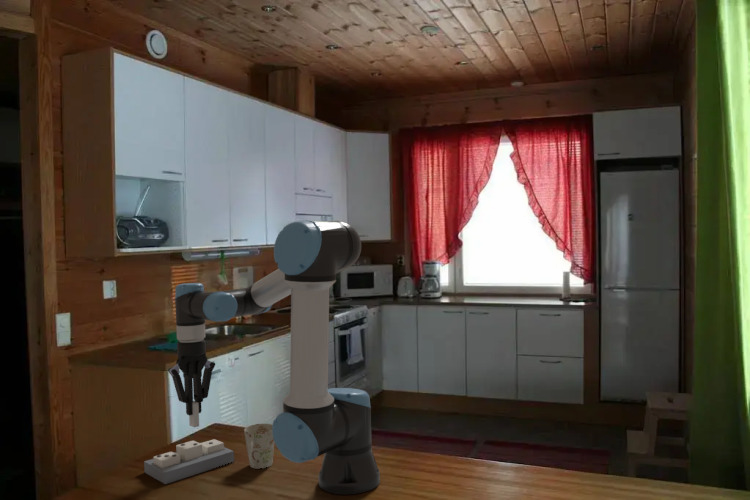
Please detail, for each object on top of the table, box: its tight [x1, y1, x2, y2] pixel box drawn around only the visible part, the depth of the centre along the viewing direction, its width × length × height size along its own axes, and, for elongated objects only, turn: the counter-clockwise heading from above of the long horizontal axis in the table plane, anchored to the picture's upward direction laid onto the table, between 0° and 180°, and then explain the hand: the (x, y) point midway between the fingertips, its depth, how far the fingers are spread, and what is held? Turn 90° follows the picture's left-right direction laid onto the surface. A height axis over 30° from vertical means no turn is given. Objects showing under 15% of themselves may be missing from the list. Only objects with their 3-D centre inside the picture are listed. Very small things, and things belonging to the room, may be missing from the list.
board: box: [143, 446, 235, 485], centre depth 165 cm, size 12×20×3 cm, turn 135°
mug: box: [243, 423, 275, 470], centre depth 163 cm, size 8×13×10 cm, turn 174°
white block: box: [199, 438, 225, 455], centre depth 170 cm, size 5×5×4 cm
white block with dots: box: [152, 451, 180, 469], centre depth 161 cm, size 5×5×4 cm
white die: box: [175, 440, 203, 462], centre depth 165 cm, size 5×5×4 cm
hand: (194, 425), depth 167 cm, fingers closed
